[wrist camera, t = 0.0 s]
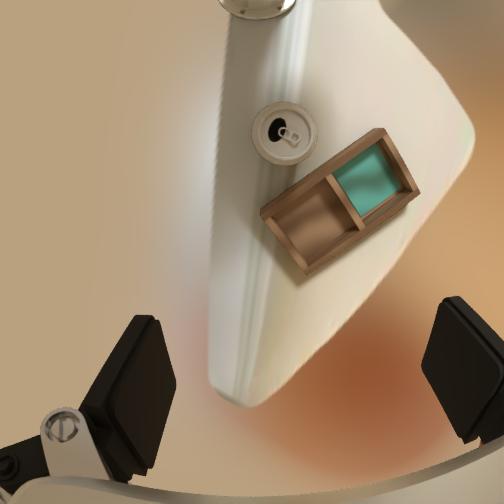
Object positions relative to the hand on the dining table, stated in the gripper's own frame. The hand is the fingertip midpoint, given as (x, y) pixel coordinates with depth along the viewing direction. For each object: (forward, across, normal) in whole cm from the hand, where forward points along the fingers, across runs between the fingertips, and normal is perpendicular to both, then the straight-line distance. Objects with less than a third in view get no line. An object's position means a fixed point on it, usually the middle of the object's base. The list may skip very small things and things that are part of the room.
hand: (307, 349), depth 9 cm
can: (+38, -2, -7) cm, 38 cm away
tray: (+37, -11, +2) cm, 39 cm away
